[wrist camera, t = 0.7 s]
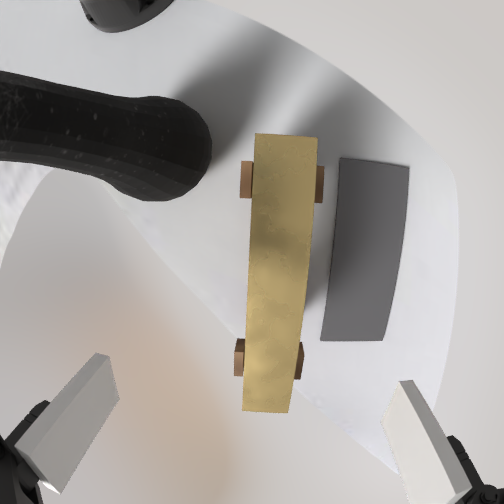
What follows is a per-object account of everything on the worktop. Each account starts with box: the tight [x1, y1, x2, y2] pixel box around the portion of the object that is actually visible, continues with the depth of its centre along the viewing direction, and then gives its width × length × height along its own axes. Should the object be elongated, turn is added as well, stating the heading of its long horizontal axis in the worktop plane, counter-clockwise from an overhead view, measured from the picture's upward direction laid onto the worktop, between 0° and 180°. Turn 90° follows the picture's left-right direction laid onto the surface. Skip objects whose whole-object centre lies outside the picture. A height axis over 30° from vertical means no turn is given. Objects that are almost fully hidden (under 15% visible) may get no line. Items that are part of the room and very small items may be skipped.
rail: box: [242, 133, 318, 413], centre depth 22 cm, size 22×4×6 cm, turn 177°
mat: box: [320, 158, 409, 341], centre depth 33 cm, size 23×9×1 cm, turn 177°
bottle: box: [0, 71, 212, 201], centre depth 17 cm, size 11×11×30 cm
